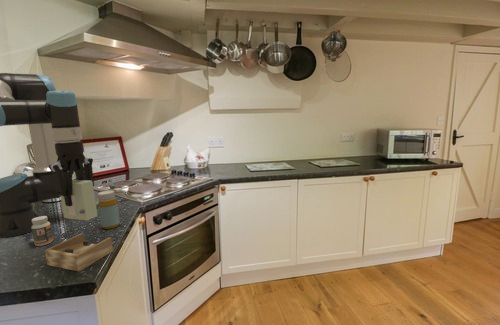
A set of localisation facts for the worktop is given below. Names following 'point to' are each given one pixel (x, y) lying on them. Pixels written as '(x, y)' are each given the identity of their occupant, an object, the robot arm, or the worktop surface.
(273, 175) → the worktop surface
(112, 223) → the bottle
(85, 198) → the door
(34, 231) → the pill bottle
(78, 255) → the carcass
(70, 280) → the worktop surface
